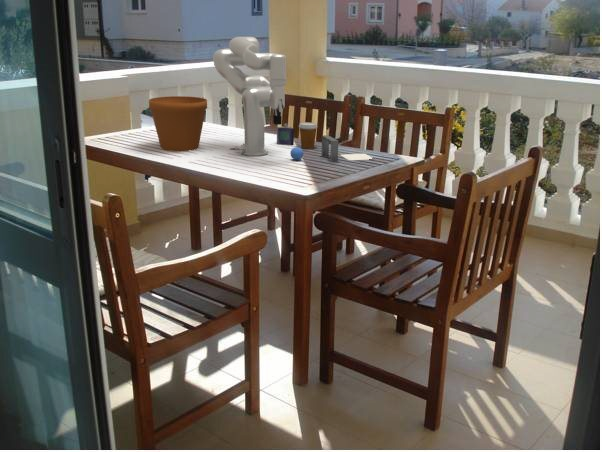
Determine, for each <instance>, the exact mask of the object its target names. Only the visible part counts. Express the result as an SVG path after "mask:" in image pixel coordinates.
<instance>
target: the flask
mask: <svg viewBox="0 0 602 452" xmlns="http://www.w3.org/2000/svg"><path fill="white" fill-rule="evenodd" d="M294 130H295V129H294V127H293V126H289V125H288V123H284V124H283V126H277V127H276V144H277V145H283V146H285V145H286V146H294V144H295V142H294V141H295V139H294V138H295V134H294V133H295V131H294Z"/></svg>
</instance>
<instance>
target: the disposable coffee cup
mask: <svg viewBox="0 0 602 452" xmlns="http://www.w3.org/2000/svg"><path fill="white" fill-rule="evenodd" d="M298 128H299V135H300V136H299V137H300V144H301V147H300V148H301V149H314V148H315V143H316V135H317V129H318V125H317V123H316V122H306V121H305V122H301V123H299V125H298Z"/></svg>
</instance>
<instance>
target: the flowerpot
mask: <svg viewBox="0 0 602 452" xmlns="http://www.w3.org/2000/svg"><path fill="white" fill-rule="evenodd" d="M148 107H149V108H148V109H149V110H150V112H151V115H152V119H153V124H154V126H155V130H156V134H157V138H158V142H159V146H160V149H161V150H163V151H167V152H189V150H191V151H194V149H195V150H198V149H199V146H200V140H201V135H202V133H203V132H202V130H203V125H204V121H205V115H206V110H208V100H207V99H206V98H204V97H199V96H198V97H196V96H185V95H184V96H181V95H179V96H178V95H177V96H173V95H172V96H160V97H153V98H150V99H148ZM197 148H198V149H197Z"/></svg>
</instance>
